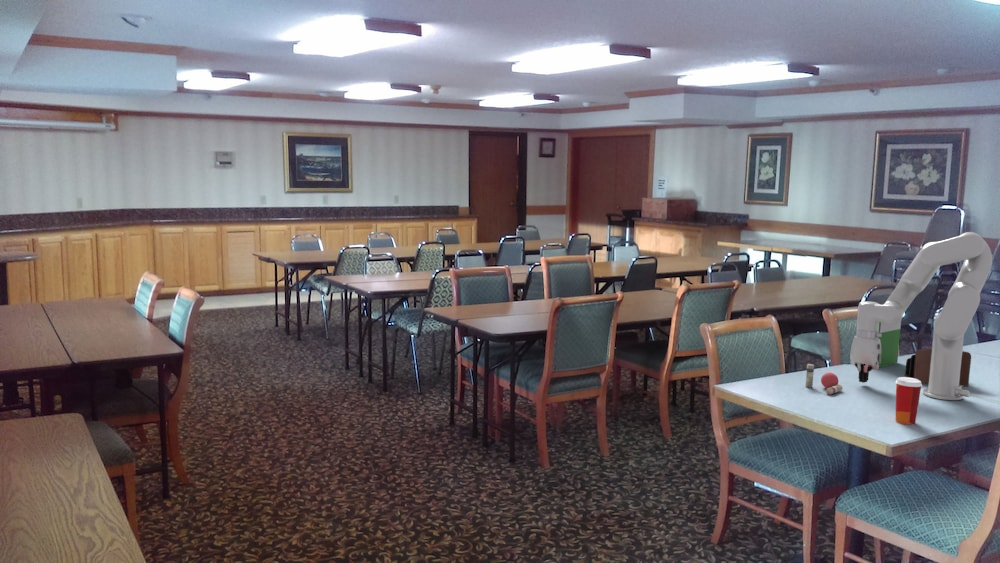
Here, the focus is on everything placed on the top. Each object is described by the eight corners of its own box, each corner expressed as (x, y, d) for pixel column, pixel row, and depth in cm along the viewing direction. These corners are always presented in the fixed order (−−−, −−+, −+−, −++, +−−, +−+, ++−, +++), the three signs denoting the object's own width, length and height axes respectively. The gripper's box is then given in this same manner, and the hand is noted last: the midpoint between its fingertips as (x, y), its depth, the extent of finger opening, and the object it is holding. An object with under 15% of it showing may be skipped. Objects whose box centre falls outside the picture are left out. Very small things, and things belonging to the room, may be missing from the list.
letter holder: (968, 386, 295) (972, 350, 293) (913, 383, 298) (916, 347, 297) (958, 380, 305) (961, 345, 303) (904, 377, 308) (907, 342, 306)
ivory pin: (840, 383, 284) (830, 387, 278) (843, 389, 283) (833, 393, 277) (834, 385, 285) (824, 389, 280) (837, 392, 285) (827, 395, 279)
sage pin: (813, 387, 289) (815, 365, 288) (810, 388, 287) (811, 365, 286) (807, 385, 291) (809, 363, 290) (804, 386, 289) (805, 364, 288)
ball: (841, 388, 284) (841, 372, 285) (825, 387, 283) (825, 371, 284) (833, 390, 289) (833, 374, 291) (818, 388, 289) (817, 372, 290)
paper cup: (912, 419, 251) (916, 377, 250) (923, 426, 244) (927, 383, 242) (887, 417, 252) (891, 376, 250) (897, 425, 245) (901, 382, 243)
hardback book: (877, 368, 322) (881, 311, 319) (859, 364, 328) (864, 309, 325) (897, 362, 333) (902, 308, 329) (880, 359, 338) (884, 305, 335)
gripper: (891, 336, 287) (887, 384, 289) (853, 330, 299) (849, 376, 301) (881, 338, 282) (877, 387, 285) (842, 332, 294) (839, 378, 296)
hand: (863, 381), depth 293 cm, fingers closed
